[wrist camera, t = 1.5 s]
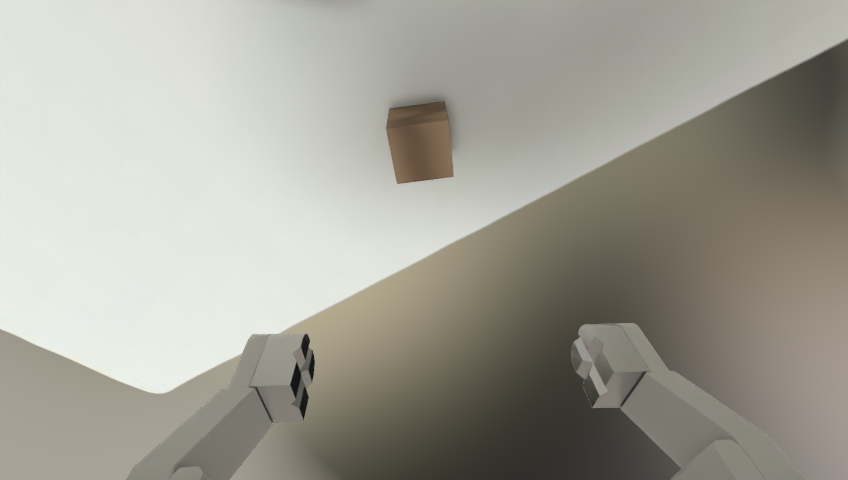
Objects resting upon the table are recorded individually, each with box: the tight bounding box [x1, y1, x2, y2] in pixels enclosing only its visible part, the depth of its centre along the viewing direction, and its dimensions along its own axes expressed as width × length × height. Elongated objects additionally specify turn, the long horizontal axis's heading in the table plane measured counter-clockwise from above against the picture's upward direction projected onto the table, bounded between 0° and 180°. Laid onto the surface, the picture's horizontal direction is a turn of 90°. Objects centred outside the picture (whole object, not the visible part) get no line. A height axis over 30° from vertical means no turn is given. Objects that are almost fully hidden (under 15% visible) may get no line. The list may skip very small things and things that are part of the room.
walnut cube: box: [386, 101, 453, 184], centre depth 31 cm, size 5×5×5 cm
